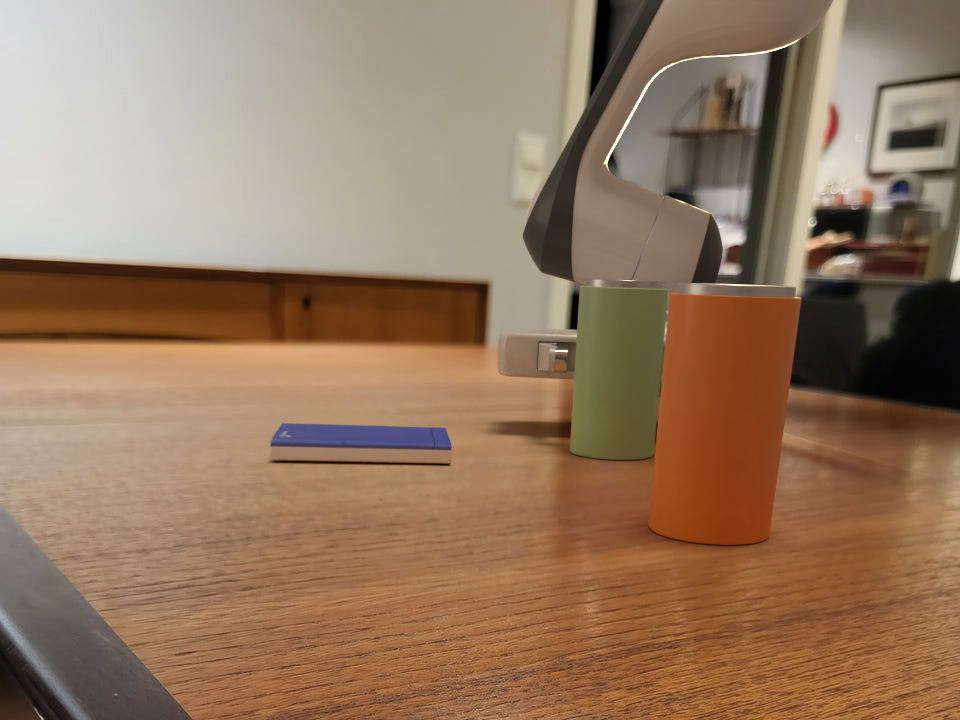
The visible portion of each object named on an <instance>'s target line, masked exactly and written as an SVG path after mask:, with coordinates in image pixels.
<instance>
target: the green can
mask: <svg viewBox="0 0 960 720" xmlns="http://www.w3.org/2000/svg"><path fill="white" fill-rule="evenodd" d="M668 291H669V290H668V289H665V281H641V280H633V279H632V280H611V279H585V280H584V284H583V285H580V286H579V295H578V296H579V297H578V310H577V329H576V330H577V342H576V358H575V374H574V380H573V389H572V391H573V393H572V405H571V406H572V407H571V421H570V422H571V425H570V441H569V452H570V453H572V454H573V455H576V456H579V457H584V458H589V459H597V460H606V461H607V460H608V461H609V460H610V461H638V460H639V461H640V460H646V459H649V458H653V456H654V455H655V445H656V434H657V423H658V412H659V401H660V397H659V390H660V379H661V368H662V357H663V346H664V335H665V324H666V313H667V302H668Z"/></svg>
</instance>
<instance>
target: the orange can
mask: <svg viewBox="0 0 960 720" xmlns="http://www.w3.org/2000/svg"><path fill="white" fill-rule="evenodd" d="M796 293H797V286H787V285H765V284H764V285H761V284H760V285H758V284H732V283H715V284H706V283H677V287H676V293H670V298H669V308H668V319H667V330H666V341H665V352H664V363H663V374H662V385H661V395H660V397H659V405H658V416H657V427H656V438H655V449H654V462H653V472H652V483H651V493H650V494H651V496H650V504H649V517H648V528H649V530H651V531H652V532H654V533H656V534H658V535H660V536H662V537H665V538H669V539H673V540H678V541H682V542H687V543H694V544H695V543H696V544H701V545H702V544H703V545H715V546H716V545H717V546H739V545H740V546H741V545H751V544H756V543H761V542H764V541H766V540H768V538H769V537H770V535H771V527H772V519H773V512H774V505H775V497H776V491H777V483H778V475H779V467H780V462H781V461H780V460H781V452H782V447H783V446H782V445H783V438H784V431H785V423H786V416H787V409H788V408H787V407H788V401H789V394H790V387H791V379H792V371H793V366H794V365H793V363H794V356H795V350H796V349H795V348H796V341H797V335H798V326H799V319H800V313H801V312H800V311H801V306H802V297H798V296H796Z"/></svg>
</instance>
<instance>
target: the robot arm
mask: <svg viewBox="0 0 960 720" xmlns="http://www.w3.org/2000/svg"><path fill="white" fill-rule="evenodd" d="M834 1H835V0H642V1H641V3H640V5H639V7H638V9H637V10H636V12H635V14H634V15H633V17H632V19H631V21H630V23H629V25H628V26H627V28H626V30H625V32H624V34H623V35H622V37H621V39H620V40H619V43H618V45H617V47H616V49H615V51H614V52H613V54H612V56H611V58H610V60H609V61H608V64H607V65H606V67H605V69H604V71H603V73H602V75H601V77H600V79H599V81H598V83H597V85H596V87H595V88H594V91H593V92H592V95H591V96H590V99H589V100H588V102H587V104H586V106H585V108H584V109H583V112H582V113H581V116H580V117H579V119H578V121H577V123H576V125H575V127H574V129H573V131H572V133H571V134H570V137H569V139H568V140H567V142H566V144H565V146H564V148H563V150H562V152H561V153H560V155H559V156H558V159H557V160H556V162H555V163H554V165H553V166H552V167H551V169H550V170H549V172H548V173H547V174H546V176H545V177H544V178H543V180H542V181H541V182H540V184H539V186H538V187H537V189H536V191H535V192H534V194H533V196H532V198H531V201H530V202H529V205H528V208H527V211H526V213H525V218H524V225H523V232H522V240H523V242H524V245H525V247H526V250H527V252H528V254H529V256H530V258H531V259H532V261H533V263H534V264H535V266H536V267H537V269H538V271H539V272H540V273H541V274H545V275H548V276H552V277H555V278H559V279H562V280H566V281H570V282H573V283H575V282H577V283H580V284H583V285H584V280H585V279H611V280H641V281H665V289H668V290H669V291H668V302H667V313H666V324H665V335H664V346H663V357H662V368H661V379H660V390H659V398H660V395H661V385H662V374H663V363H664V352H665V341H666V330H667V319H668V308H669V298H670V293H676V287H677V283H706V284H716V283H717V279H718V275H719V273H720V269H721V264H722V260H723V254H724V252H723V251H724V245H723V240H722V236H721V231H720V229H719V225H718V223H717V220H716V219H715V217H714V215H713V213H711V212H708V211H706V210H703V209H701V208H698V207H697V206H694V205H691V204H689V203H687V202H684V201H682V200H679V199H677V198H673V197H672V196H669V195H663V194H660V193H658V192H656V191H653V190H651V189H647V188H645V187H643V186H640V185H638V184H635V183H633V182H630V181H627V180H625V179H623V178H620V177H618V176H615V175H614V173H612V172H611V171H610V170H609V167H608V162H609V159H610V157H611V155H612V153H613V151H614V150H615V148H616V146H617V144H618V142H619V140H621V137H622V135H623V134H624V131H625V130H626V128H627V126H628V124H629V123H630V120H631V119H632V117H633V115H634V113H635V111H636V109H637V108H638V106H639V104H640V102H641V100H642V99H643V97H644V96H645V93H646V91H647V90H648V88H649V86H650V85H651V83H652V82H653V81H654V79H656V78H657V76H659V75H660V73H663V71H665V70H666V69H668V68H670V67H672V66H673V65H676V64H678V63H681V62H684V61H685V62H686V61H689V60H694V59H701V58H703V59H705V58H716V57H717V58H718V57H735V56H736V57H737V56H750V55H759V54H766V53H769V52H774V51H778V50H780V49H783V48H786V47H788V46H790V45H793V44H794V43H796V42H798V41H800V40H801V39H803V38H804V37H806V36H807V35H809V33H811V32H812V31H813V30H814V29H815V28H816V27H817V26H818V25H819V24H820V23H821V22H823V20H824V17H825V16H826V14H827V13H828V11H829V9H830V8H831V6H832V4H833V3H834ZM576 342H577V329H564V328H541V327H540V328H537V327H523V328H522V327H521V328H514V329H506V330H502V331H500V333H499V335H498V344H497V372H498V373H499V375H502V376H505V377H509V378H526V379H527V378H529V379H552V380H553V379H554V380H573V381H574V374H575V358H576Z"/></svg>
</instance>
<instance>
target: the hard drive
mask: <svg viewBox="0 0 960 720" xmlns="http://www.w3.org/2000/svg"><path fill="white" fill-rule="evenodd" d="M269 443H270V446H269V449H270V460H271V461H273V462H274V461H280V462H281V461H283V462H284V461H285V462H287V461H288V462H296V461H297V462H335V463H336V462H338V463H339V462H341V463H345V462H346V463H387V464H388V463H390V464H391V463H395V464H396V463H397V464H442V465H443V464H446V465H447V464H451V463H452V451H453V450H452V449H453V448H452V442H451V439H450V436H449V433H448V431H447V428H446V427H439V426H437V427H436V426H435V427H434V426H431V427H427V426H398V425H397V426H396V425H395V426H394V425H364V424H361V425H360V424H359V425H358V424H329V423H328V424H325V423H291V422H289V423H288V422H286V423H285V422H284V423H283V422H282V423H281V424H280V425H279V426H278V428H277V429H276V431H275V432H274V434H273V436H272V437H271V439H270V442H269Z"/></svg>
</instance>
